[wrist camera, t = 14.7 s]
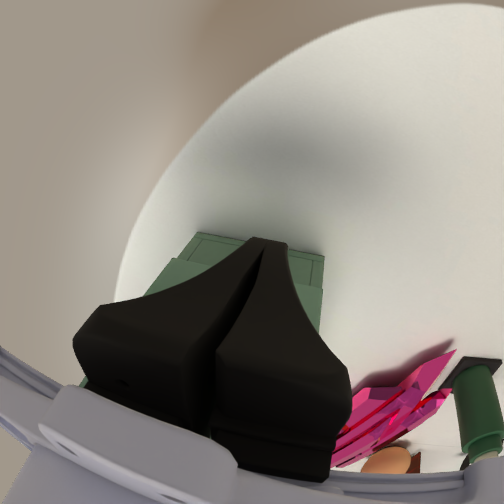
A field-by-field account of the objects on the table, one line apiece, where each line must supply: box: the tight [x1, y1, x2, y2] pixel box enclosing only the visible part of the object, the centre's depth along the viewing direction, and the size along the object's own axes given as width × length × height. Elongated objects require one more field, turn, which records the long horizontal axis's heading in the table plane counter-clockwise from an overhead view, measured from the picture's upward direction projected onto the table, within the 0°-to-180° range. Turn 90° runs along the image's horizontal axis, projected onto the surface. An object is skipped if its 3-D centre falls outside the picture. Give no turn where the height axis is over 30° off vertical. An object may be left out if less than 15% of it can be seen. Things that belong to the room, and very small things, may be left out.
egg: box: [361, 447, 411, 474], centre depth 34 cm, size 6×6×8 cm
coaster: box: [438, 357, 502, 394], centre depth 25 cm, size 6×6×1 cm
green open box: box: [177, 232, 324, 288], centre depth 25 cm, size 12×10×4 cm
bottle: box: [452, 365, 504, 464], centre depth 20 cm, size 5×5×11 cm
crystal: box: [330, 349, 457, 468], centre depth 28 cm, size 8×6×25 cm
